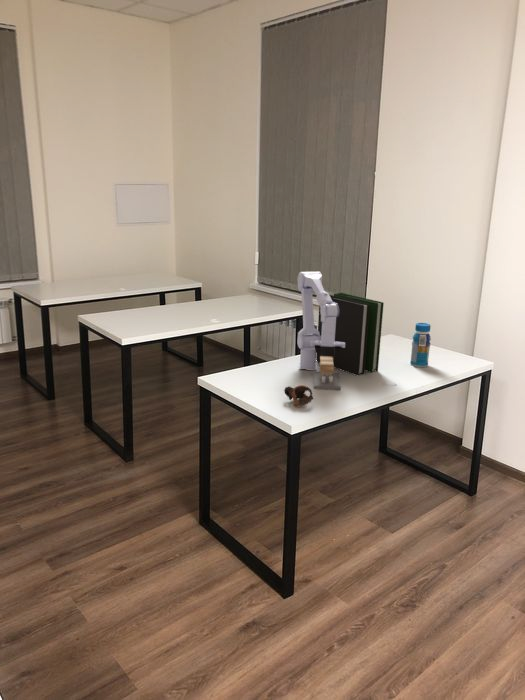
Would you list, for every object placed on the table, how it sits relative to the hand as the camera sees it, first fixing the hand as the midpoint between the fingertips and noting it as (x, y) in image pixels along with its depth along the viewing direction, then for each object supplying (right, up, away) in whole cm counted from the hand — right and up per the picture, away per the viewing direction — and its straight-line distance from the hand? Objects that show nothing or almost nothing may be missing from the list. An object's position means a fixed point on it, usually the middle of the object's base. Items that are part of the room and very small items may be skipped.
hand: (326, 362), depth 249 cm
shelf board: (0, -2, +1) cm, 3 cm away
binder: (+12, -2, +25) cm, 28 cm away
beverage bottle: (+47, -2, +30) cm, 56 cm away
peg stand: (0, -8, +2) cm, 8 cm away
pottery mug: (-14, -15, -23) cm, 31 cm away
